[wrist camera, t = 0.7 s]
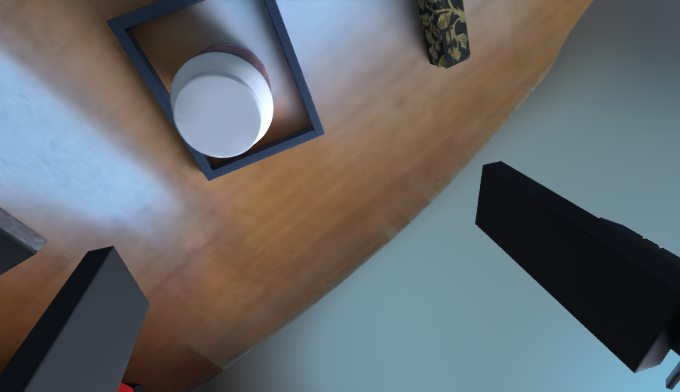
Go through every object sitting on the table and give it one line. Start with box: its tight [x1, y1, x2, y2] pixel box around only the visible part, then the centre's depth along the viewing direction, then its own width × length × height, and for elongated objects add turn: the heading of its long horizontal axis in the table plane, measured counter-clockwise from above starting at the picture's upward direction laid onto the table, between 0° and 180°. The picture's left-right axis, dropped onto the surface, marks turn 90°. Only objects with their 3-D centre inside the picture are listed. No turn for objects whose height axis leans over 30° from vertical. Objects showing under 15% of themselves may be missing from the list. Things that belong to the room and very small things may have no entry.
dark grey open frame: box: [106, 0, 325, 181], centre depth 26 cm, size 14×12×1 cm
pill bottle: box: [170, 43, 273, 158], centre depth 22 cm, size 6×6×11 cm
